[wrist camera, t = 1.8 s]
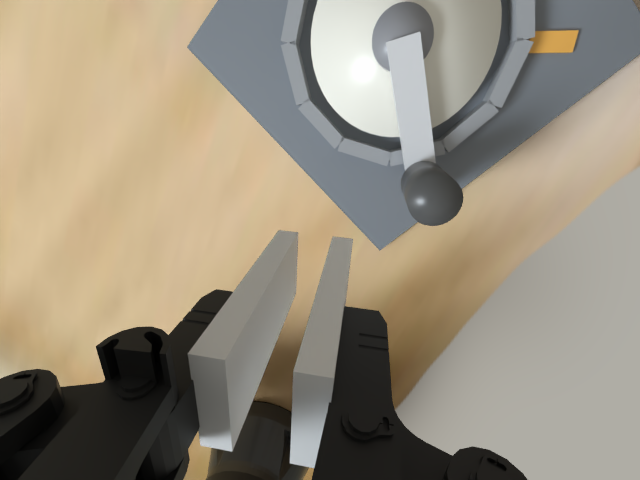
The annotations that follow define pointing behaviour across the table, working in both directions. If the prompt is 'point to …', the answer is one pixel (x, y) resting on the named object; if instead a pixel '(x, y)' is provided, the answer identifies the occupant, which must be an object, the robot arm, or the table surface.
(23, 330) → the table surface
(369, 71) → the dial
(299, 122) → the panel
